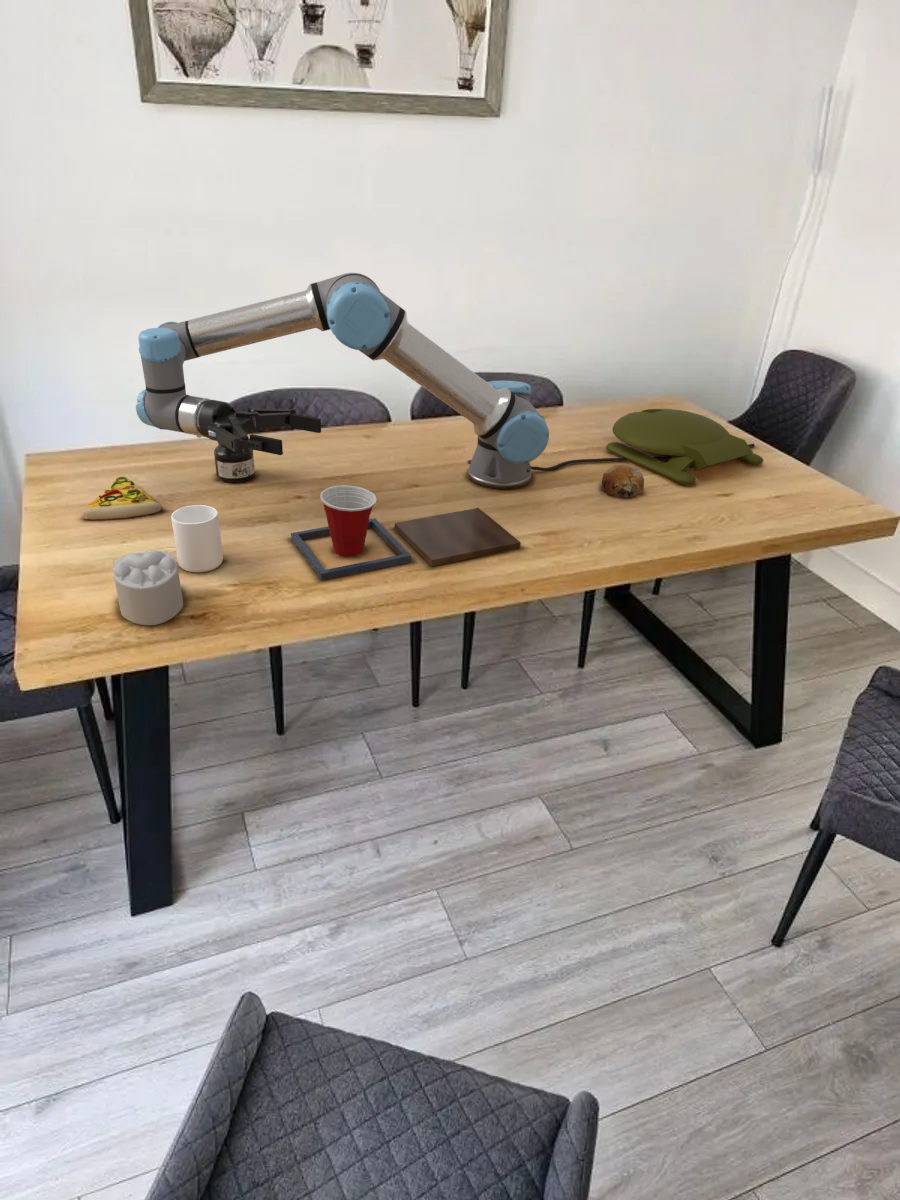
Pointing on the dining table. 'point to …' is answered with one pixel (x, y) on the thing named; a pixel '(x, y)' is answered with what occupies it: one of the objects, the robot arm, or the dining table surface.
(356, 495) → the plastic cup
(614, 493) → the bread roll
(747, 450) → the spaceship
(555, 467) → the robot arm
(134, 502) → the pizza slice
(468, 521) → the walnut board
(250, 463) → the ink bottle
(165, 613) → the egg container
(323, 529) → the square frame
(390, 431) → the dining table surface
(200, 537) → the mug
